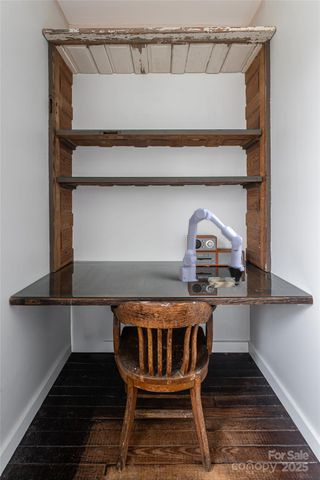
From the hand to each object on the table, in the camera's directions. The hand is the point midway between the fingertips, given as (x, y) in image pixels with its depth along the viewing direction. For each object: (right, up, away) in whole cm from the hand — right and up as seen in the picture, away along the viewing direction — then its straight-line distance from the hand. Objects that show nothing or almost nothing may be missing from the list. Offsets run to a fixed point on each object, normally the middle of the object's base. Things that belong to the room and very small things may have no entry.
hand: (235, 280), depth 177 cm
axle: (-2, 0, 0) cm, 2 cm away
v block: (-10, -1, +5) cm, 11 cm away
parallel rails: (-8, -2, -2) cm, 9 cm away
